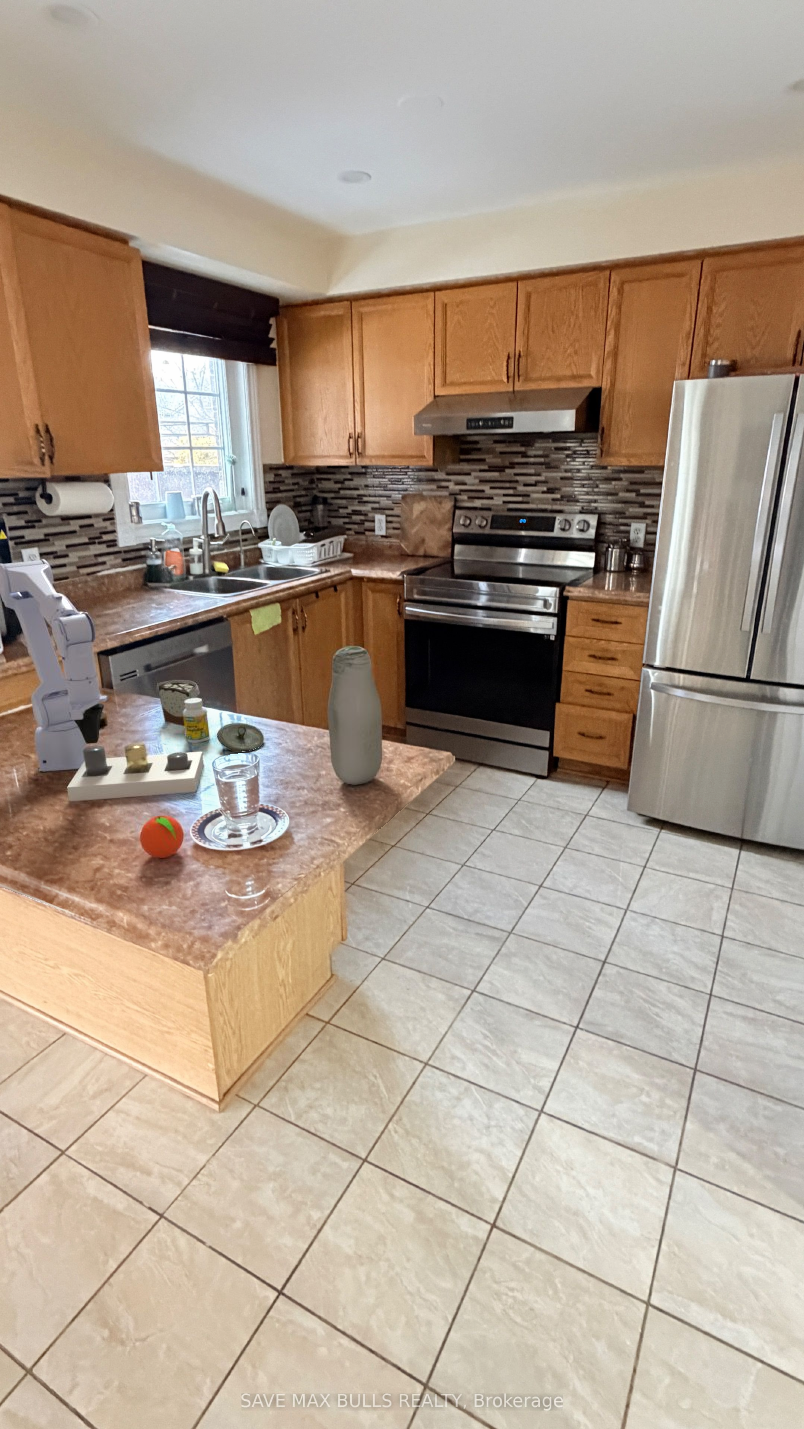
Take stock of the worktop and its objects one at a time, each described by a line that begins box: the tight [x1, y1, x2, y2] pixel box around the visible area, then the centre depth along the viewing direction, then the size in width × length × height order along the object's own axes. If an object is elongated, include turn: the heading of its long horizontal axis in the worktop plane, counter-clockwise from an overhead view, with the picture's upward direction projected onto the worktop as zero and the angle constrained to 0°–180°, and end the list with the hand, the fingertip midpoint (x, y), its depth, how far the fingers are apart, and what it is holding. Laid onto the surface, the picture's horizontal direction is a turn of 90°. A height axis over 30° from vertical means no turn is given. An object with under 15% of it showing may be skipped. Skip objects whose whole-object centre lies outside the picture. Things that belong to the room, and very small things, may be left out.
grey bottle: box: [327, 645, 383, 786], centre depth 147 cm, size 10×10×28 cm
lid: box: [216, 722, 265, 753], centre depth 172 cm, size 11×10×5 cm
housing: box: [66, 751, 205, 802], centre depth 154 cm, size 24×14×3 cm, turn 98°
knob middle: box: [124, 742, 148, 773], centre depth 152 cm, size 4×4×5 cm
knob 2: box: [167, 751, 189, 771], centre depth 154 cm, size 4×4×5 cm
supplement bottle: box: [183, 697, 211, 744], centre depth 175 cm, size 5×5×10 cm
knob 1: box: [83, 745, 108, 776], centre depth 151 cm, size 4×4×5 cm
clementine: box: [139, 814, 185, 859], centre depth 124 cm, size 8×7×7 cm
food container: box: [156, 679, 200, 728], centre depth 187 cm, size 12×6×10 cm, turn 58°
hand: (92, 742), depth 150 cm, fingers closed
